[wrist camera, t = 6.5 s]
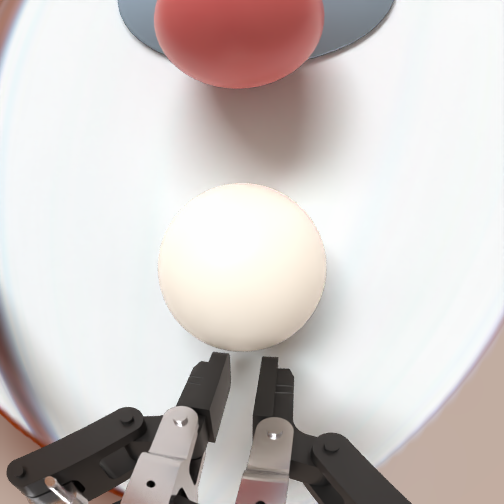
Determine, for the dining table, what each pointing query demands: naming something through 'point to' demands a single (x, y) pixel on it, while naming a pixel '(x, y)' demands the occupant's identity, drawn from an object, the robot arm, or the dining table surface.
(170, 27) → the red ball
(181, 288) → the cue ball
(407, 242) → the dining table surface
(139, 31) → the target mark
